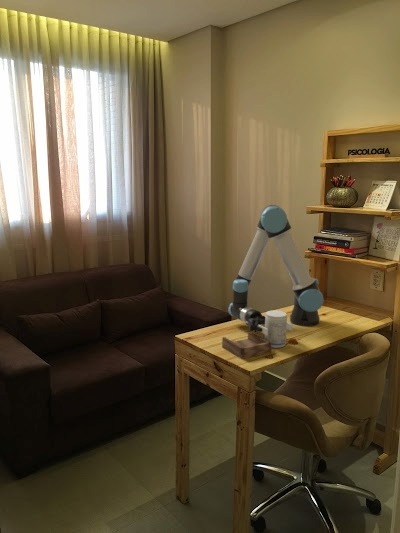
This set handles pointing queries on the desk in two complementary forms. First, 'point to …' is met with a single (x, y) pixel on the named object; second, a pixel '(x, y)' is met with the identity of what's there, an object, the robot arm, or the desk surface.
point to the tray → (247, 346)
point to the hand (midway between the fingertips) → (279, 329)
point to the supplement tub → (276, 328)
